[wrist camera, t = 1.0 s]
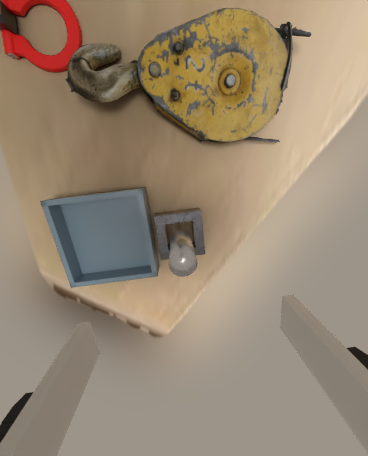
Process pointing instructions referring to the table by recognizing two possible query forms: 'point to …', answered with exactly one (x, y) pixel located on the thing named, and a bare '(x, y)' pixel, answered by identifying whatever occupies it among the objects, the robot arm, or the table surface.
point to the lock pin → (181, 251)
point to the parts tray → (103, 236)
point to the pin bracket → (178, 217)
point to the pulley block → (200, 73)
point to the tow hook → (20, 47)
